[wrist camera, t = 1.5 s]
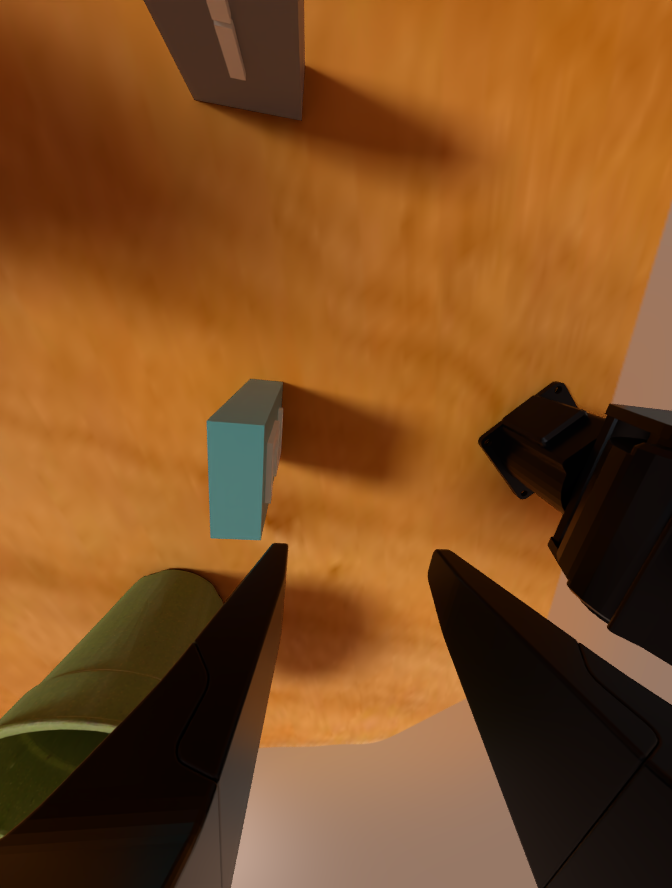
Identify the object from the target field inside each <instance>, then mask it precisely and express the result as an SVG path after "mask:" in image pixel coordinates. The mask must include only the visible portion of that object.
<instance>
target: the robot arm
mask: <svg viewBox="0 0 672 888" xmlns="http://www.w3.org/2000/svg"><path fill="white" fill-rule="evenodd" d="M556 387H558V389H557V391H556V392H555V388H556ZM605 414H607V417H606V419H605V418H602V417H599V416H596V415H593V414H590V413H587V412H586V411H585V410H582V409H579V408H577V406H576V404H575V402H574V400H573V399H572V397H571V395H570V393H569V391H568V389H567V388H566V386H565V384H564V383H561V382H557V381H556V382H552V383H550V384H549V385H548V386H547V387H545V388H544V389H543V390H541V391H540V392H539V393H537V394H536V395H535V396H532V397H530V398H529V399H528V400H527V401H525V402H524V403H523V404H521V405H520V406H519V407H517V408H516V409H515V410H513V411H512V412H511V413H509V414H508V415H507V416H505V417H504V418H503V419H502V421H500V422H499V423H498V424H496V425H495V426H494V427H492V428H491V429H490V430H488V431H487V432H486V433H484V434H483V435H482V436H481V437H480V438H479V440H478V443H479V445H480V447H481V448H482V450H483V451H484V452H485V454H486V455H487V456H488V458H489V459H490V461H491V462H492V463H493V465H494V466H495V467H496V469H497V470H498V472H499V473H500V474H501V476H502V477H503V478H504V480H505V481H506V483H507V484H508V485H509V487H510V488H511V490H512V491H513V492H514V494H515V495H516V496H517V497H519V498H520V499H526V498H528V497H529V496H530V495H532V494H533V493H536V494H537V495H538V496H540V497H541V498H542V499H544V500H545V501H546V502H548V503H549V504H550V505H552V506H553V507H554V508H556V509H557V510H558V511H560V512H561V513H562V514H563V516H562V518H561V521H560V523H559V525H558V527H557V530H556V532H555V534H554V536H553V537H551V538H550V540H549V543H548V547H549V549H550V550H551V552H552V554H553V555H554V557H555V559H556V561H557V562H558V564H559V566H560V567H561V569H562V571H563V572H564V574H565V575H566V578H567V579H568V581H567V585H568V587H569V588H570V590H571V591H572V592H573V593H574V594H575V595H576V596H577V597H578V598H579V599H580V600H581V602H582V603H583V604H584V605H585V606H586V607H587V608H588V609H589V610H590V611H591V612H592V613H594V614H595V615H596V616H597V617H599V618H600V619H601V620H603V621H604V622H606V623H607V624H608V625H607V628H608V629H609V631H611V632H612V633H614V634H616V635H618V636H620V637H622V638H624V639H626V640H628V641H630V642H632V643H634V644H636V645H639V646H640V647H642V648H644V649H645V650H647V651H649V652H650V653H652V654H654V655H655V656H657V657H658V658H660V659H662V660H663V661H665V662H667V663H668V664H670V665H672V411H669V410H660V409H652V408H643V407H635V406H626V405H618V404H609V406H608V408H607V411H606V413H605ZM487 439H489V441H488V442H487V443H486V444H485V441H486V440H487ZM522 491H524V492H523V493H521V492H522ZM287 557H288V544H286V543H273V544H272V545H271V546H270V547H269V549H268V550H267V551H266V552H265V554H264V555H263V556H262V557H261V559H260V560H259V561H258V562H257V563H256V565H255V566H254V567H253V568H252V570H251V571H250V572H249V573H248V575H247V576H246V577H245V578H244V579H243V581H242V582H241V583H240V584H239V586H238V587H237V588H236V589H235V591H234V592H233V593H232V594H231V596H230V597H229V598H228V599H227V600H226V602H225V603H224V604H223V605H222V607H221V608H220V609H219V610H218V612H217V613H216V614H215V615H214V616H213V618H212V619H211V620H210V621H209V623H208V624H207V625H206V626H205V628H204V629H203V630H202V631H201V633H200V634H199V635H198V636H197V637H196V639H195V640H194V643H191V645H190V646H189V647H188V648H187V650H186V651H185V652H184V653H183V655H182V656H181V657H180V658H179V659H178V661H177V662H176V663H175V664H174V665H173V666H172V668H171V669H170V670H169V671H168V672H167V673H166V675H165V676H164V677H163V678H162V679H161V680H160V682H159V683H158V684H157V685H156V686H155V687H154V688H153V689H152V690H151V691H150V692H149V693H148V695H147V696H146V697H145V698H144V699H143V700H142V701H141V702H140V703H139V704H138V705H137V706H136V707H135V708H134V709H133V710H132V712H131V713H130V714H129V715H128V716H127V717H126V718H125V719H124V720H123V721H122V722H121V723H120V724H119V725H118V726H117V727H116V728H115V729H114V730H113V731H112V732H111V733H110V734H109V735H108V736H107V737H106V738H105V739H104V740H103V741H102V742H101V743H100V744H99V745H98V746H97V747H96V748H95V749H94V751H93V752H92V753H91V754H90V755H89V756H88V757H87V758H86V759H85V760H84V761H83V762H82V763H81V764H80V765H79V766H78V767H77V768H76V769H75V770H74V771H73V772H72V773H71V774H70V775H69V776H68V777H67V778H66V779H65V780H64V781H63V782H62V783H61V784H60V785H59V786H58V787H57V788H56V789H55V790H54V791H53V792H52V793H51V794H50V795H49V796H48V797H47V798H46V799H45V800H44V801H43V802H42V803H41V804H40V805H39V806H38V807H37V808H36V809H35V810H34V811H33V812H32V813H30V814H29V815H28V816H27V817H26V818H25V819H24V820H23V821H21V822H20V823H19V824H18V825H17V826H15V827H14V828H13V829H12V830H11V831H9V832H8V833H7V834H6V835H5V836H3V837H2V838H1V839H0V888H231V884H232V878H233V874H234V869H235V864H236V859H237V854H238V848H239V844H240V839H241V833H242V829H243V824H244V819H245V813H246V809H247V803H248V798H249V793H250V788H251V783H252V778H253V773H254V768H255V763H256V758H257V753H258V748H259V743H260V738H261V733H262V728H263V723H264V718H265V713H266V708H267V703H268V698H269V693H270V688H271V683H272V678H273V673H274V668H275V663H276V658H277V653H278V648H279V643H280V637H281V630H282V620H283V608H284V596H285V584H286V571H287ZM428 582H429V585H430V589H431V593H432V597H433V600H434V604H435V608H436V612H437V615H438V619H439V623H440V626H441V630H442V633H443V636H444V639H445V642H446V645H447V647H448V650H449V653H450V655H451V658H452V661H453V663H454V666H455V669H456V671H457V674H458V677H459V679H460V682H461V685H462V687H463V690H464V693H465V695H466V698H467V701H468V703H469V706H470V708H471V711H472V714H473V716H474V719H475V722H476V724H477V727H478V730H479V732H480V735H481V738H482V740H483V743H484V746H485V748H486V751H487V754H488V756H489V759H490V762H491V764H492V767H493V770H494V772H495V775H496V777H497V780H498V783H499V786H500V788H501V791H502V793H503V796H504V799H505V801H506V804H507V807H508V809H509V812H510V815H511V817H512V820H513V823H514V825H515V828H516V831H517V833H518V836H519V838H520V841H521V844H522V846H523V849H524V852H525V855H526V857H527V860H528V862H529V865H530V868H531V870H532V873H533V876H534V878H535V881H536V884H537V886H538V888H672V705H671V704H669V703H668V702H666V701H665V700H663V699H662V698H660V697H659V696H657V695H655V694H654V693H653V692H651V691H649V690H648V689H646V688H645V687H643V686H642V685H640V684H639V683H637V682H636V681H634V680H633V679H631V678H630V677H628V676H627V675H625V674H624V673H622V672H621V671H619V670H618V669H617V668H615V667H614V666H612V665H611V664H609V663H608V662H607V661H605V660H604V659H602V658H601V657H599V656H598V655H597V654H595V653H594V652H592V651H591V650H590V649H588V648H587V647H585V646H584V645H583V644H581V643H577V641H576V640H575V639H574V638H572V637H571V636H570V635H568V634H567V633H566V632H564V631H563V630H561V629H560V628H559V627H557V626H556V625H554V624H553V623H552V622H550V621H549V620H547V619H546V618H545V617H543V616H542V615H540V614H539V613H538V612H536V611H535V610H533V609H532V608H531V607H529V606H528V605H526V604H525V603H524V602H522V601H521V600H519V599H518V598H517V597H515V596H514V595H512V594H511V593H510V592H508V591H507V590H505V589H504V588H503V587H501V586H500V585H498V584H497V583H496V582H494V581H493V580H491V579H490V578H489V577H487V576H486V575H484V574H483V573H482V572H480V571H479V570H477V569H476V568H474V567H473V566H472V565H470V564H469V563H467V562H466V561H465V560H463V559H462V558H460V557H459V556H458V555H456V554H455V553H453V552H452V551H450V550H447V549H436V550H435V551H434V552H433V555H432V559H431V562H430V566H429V570H428Z"/></svg>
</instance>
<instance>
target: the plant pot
mask: <svg viewBox="0 0 672 888" xmlns="http://www.w3.org/2000/svg"><path fill="white" fill-rule="evenodd" d="M222 605H223V602H222V599H221V598H220V597H219V595H218V594H217V592H216V590H215V588H214V586H213V585H212V584H211V583H210V582H209V581H207V580H206V579H204V578H202V577H200V576H198V575H196V574H194V573H190V572H187V571H181V570H163V571H161V572H158V573H155V574H152V575H148V576H144V577H142V578H141V579H140V580H138V581H137V582H136V583H135V584H134V585H133V586H132V587H131V588H130V589H129V590H128V591H127V592H126V593H125V595H124V596H123V597H122V598H121V599H120V600H119V601H118V602H117V603H116V604H115V605H114V606H113V607H112V608H111V609H110V611H109V612H108V613H107V614H106V615H105V616H104V617H103V618H102V619H101V620H100V621H99V622H98V623H97V624H96V625H95V626H94V627H93V629H92V630H91V631H90V632H89V633H88V634H87V635H86V636H85V637H84V638H83V639H82V640H81V641H80V642H79V643H78V644H77V645H76V646H75V647H74V649H73V650H72V651H71V652H70V653H69V654H68V655H67V656H66V657H65V658H64V659H63V660H62V661H61V662H60V663H59V664H58V665H57V666H56V667H55V668H54V670H53V671H52V672H51V673H50V674H49V675H48V676H47V677H46V678H45V679H44V680H43V681H42V682H41V683H40V684H39V685H37V686H35V687H34V688H32V689H31V690H30V691H28V692H27V693H26V694H25V695H24V696H23V697H22V698H21V699H20V700H19V701H18V702H17V703H16V704H15V705H14V706H13V707H12V708H11V709H10V710H9V711H8V712H7V713H6V714H5V715H4V716H3V717H2V718H1V719H0V839H1V838H2V837H3V836H5V835H6V834H7V833H8V832H9V831H11V830H12V829H13V828H14V827H15V826H17V825H18V824H19V823H20V822H21V821H23V820H24V819H25V818H26V817H27V816H28V815H29V814H30V813H32V812H33V811H34V810H35V809H36V808H37V807H38V806H39V805H40V804H41V803H42V802H43V801H44V800H45V799H46V798H47V797H48V796H49V795H50V794H51V793H52V792H53V791H54V790H55V789H56V788H57V787H58V786H59V785H60V784H61V783H62V782H63V781H64V780H65V779H66V778H67V777H68V776H69V775H70V774H71V773H72V772H73V771H74V770H75V769H76V768H77V767H78V766H79V765H80V764H81V763H82V762H83V761H84V760H85V759H86V758H87V757H88V756H89V755H90V754H91V753H92V752H93V751H94V749H95V748H96V747H97V746H98V745H99V744H100V743H101V742H102V741H103V740H104V739H105V738H106V737H107V736H108V735H109V734H110V733H111V732H112V731H113V730H114V729H115V728H116V727H117V726H118V725H119V724H120V723H121V722H122V721H123V720H124V719H125V718H126V717H127V716H128V715H129V714H130V713H131V712H132V710H133V709H134V708H135V707H136V706H137V705H138V704H139V703H140V702H141V701H142V700H143V699H144V698H145V697H146V696H147V695H148V693H149V692H150V691H151V690H152V689H153V688H154V687H155V686H156V685H157V684H158V683H159V682H160V680H161V679H162V678H163V677H164V676H165V675H166V673H167V672H168V671H169V670H170V669H171V668H172V666H173V665H174V664H175V663H176V662H177V661H178V659H179V658H180V657H181V656H182V655H183V653H184V652H185V651H186V650H187V648H188V647H189V646H190V645H191V643H194V640H195V639H196V637H197V636H198V635H199V634H200V633H201V631H202V630H203V629H204V628H205V626H206V625H207V624H208V623H209V621H210V620H211V619H212V618H213V616H214V615H215V614H216V613H217V612H218V610H219V609H220V608H221V607H222Z"/></svg>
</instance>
